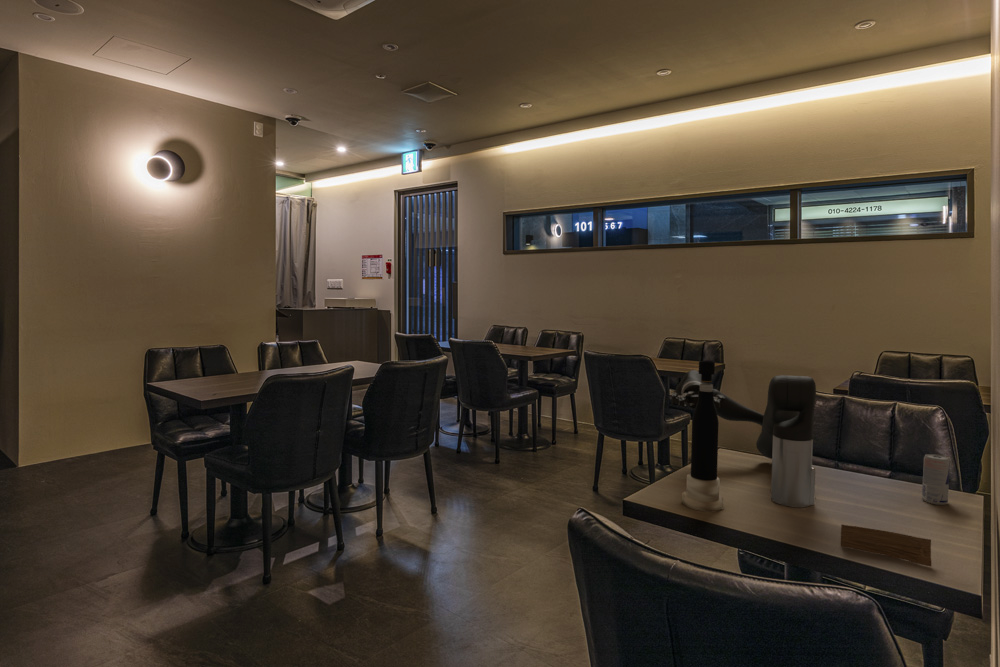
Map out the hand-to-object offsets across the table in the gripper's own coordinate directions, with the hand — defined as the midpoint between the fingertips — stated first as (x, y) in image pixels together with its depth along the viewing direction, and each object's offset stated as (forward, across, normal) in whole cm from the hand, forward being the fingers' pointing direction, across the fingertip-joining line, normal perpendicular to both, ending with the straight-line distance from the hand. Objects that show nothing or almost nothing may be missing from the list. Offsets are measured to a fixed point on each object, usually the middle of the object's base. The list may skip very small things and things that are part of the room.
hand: (699, 404), depth 150 cm
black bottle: (+9, -1, -18) cm, 20 cm away
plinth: (+10, 0, -24) cm, 26 cm away
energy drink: (-9, -60, -25) cm, 65 cm away
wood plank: (+30, -34, -25) cm, 52 cm away
